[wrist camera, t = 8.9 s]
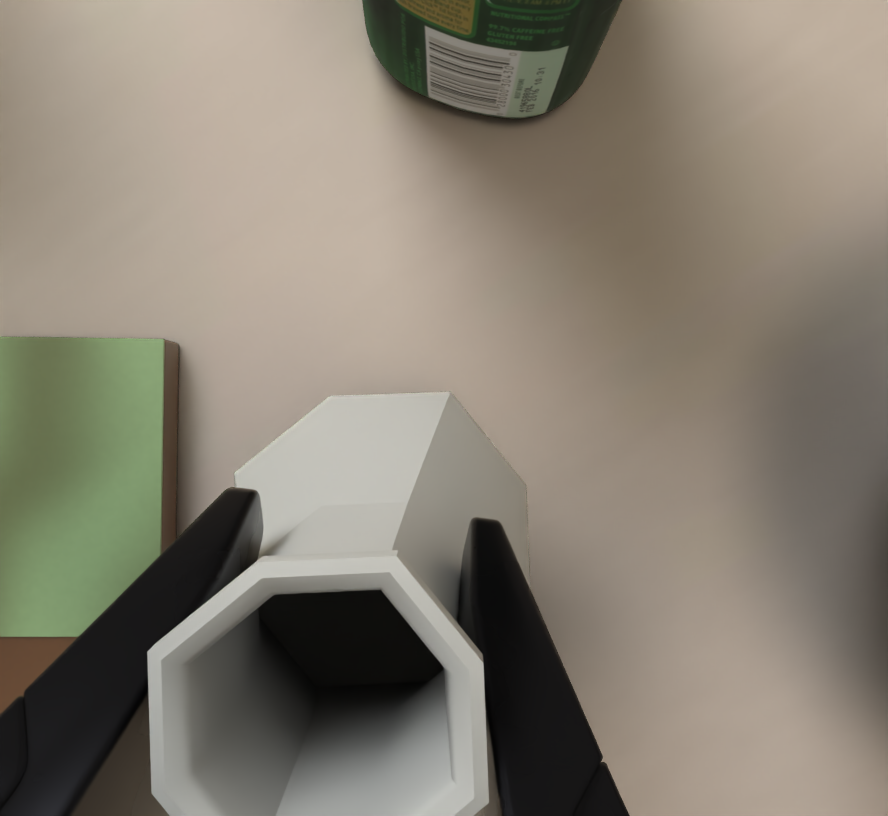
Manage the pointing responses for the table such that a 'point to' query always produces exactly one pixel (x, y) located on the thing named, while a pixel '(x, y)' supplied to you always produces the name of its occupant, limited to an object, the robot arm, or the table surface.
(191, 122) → the table surface
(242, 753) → the flask
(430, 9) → the coffee jar
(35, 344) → the walnut board
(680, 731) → the table surface
